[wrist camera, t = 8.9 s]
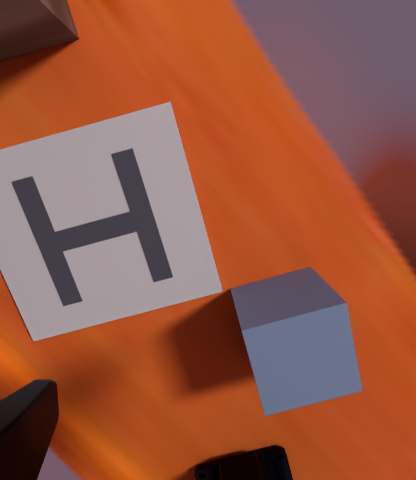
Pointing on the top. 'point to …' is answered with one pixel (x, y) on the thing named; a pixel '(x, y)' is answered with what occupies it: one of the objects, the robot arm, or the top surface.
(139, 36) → the top surface
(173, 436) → the top surface
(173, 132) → the letter card
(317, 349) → the slate blue cube
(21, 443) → the robot arm
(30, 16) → the walnut block
